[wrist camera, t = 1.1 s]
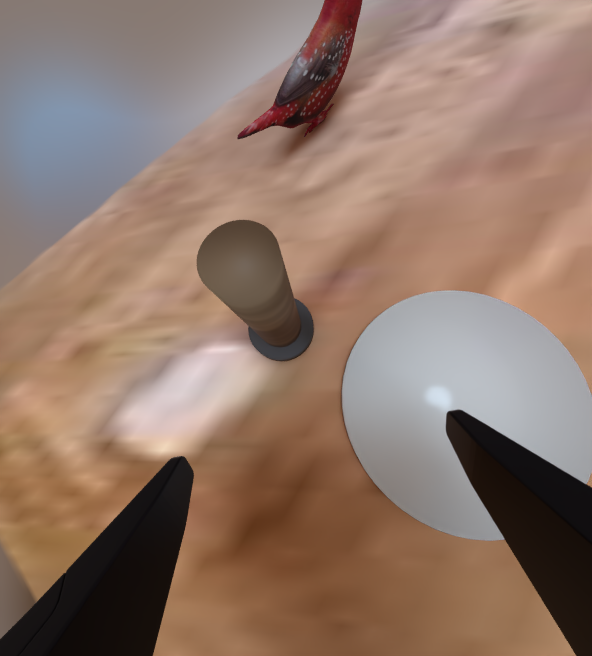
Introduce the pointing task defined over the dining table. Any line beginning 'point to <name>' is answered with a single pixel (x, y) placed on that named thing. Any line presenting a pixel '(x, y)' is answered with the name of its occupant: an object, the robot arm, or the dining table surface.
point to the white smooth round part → (459, 401)
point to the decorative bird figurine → (314, 70)
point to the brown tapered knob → (256, 287)
